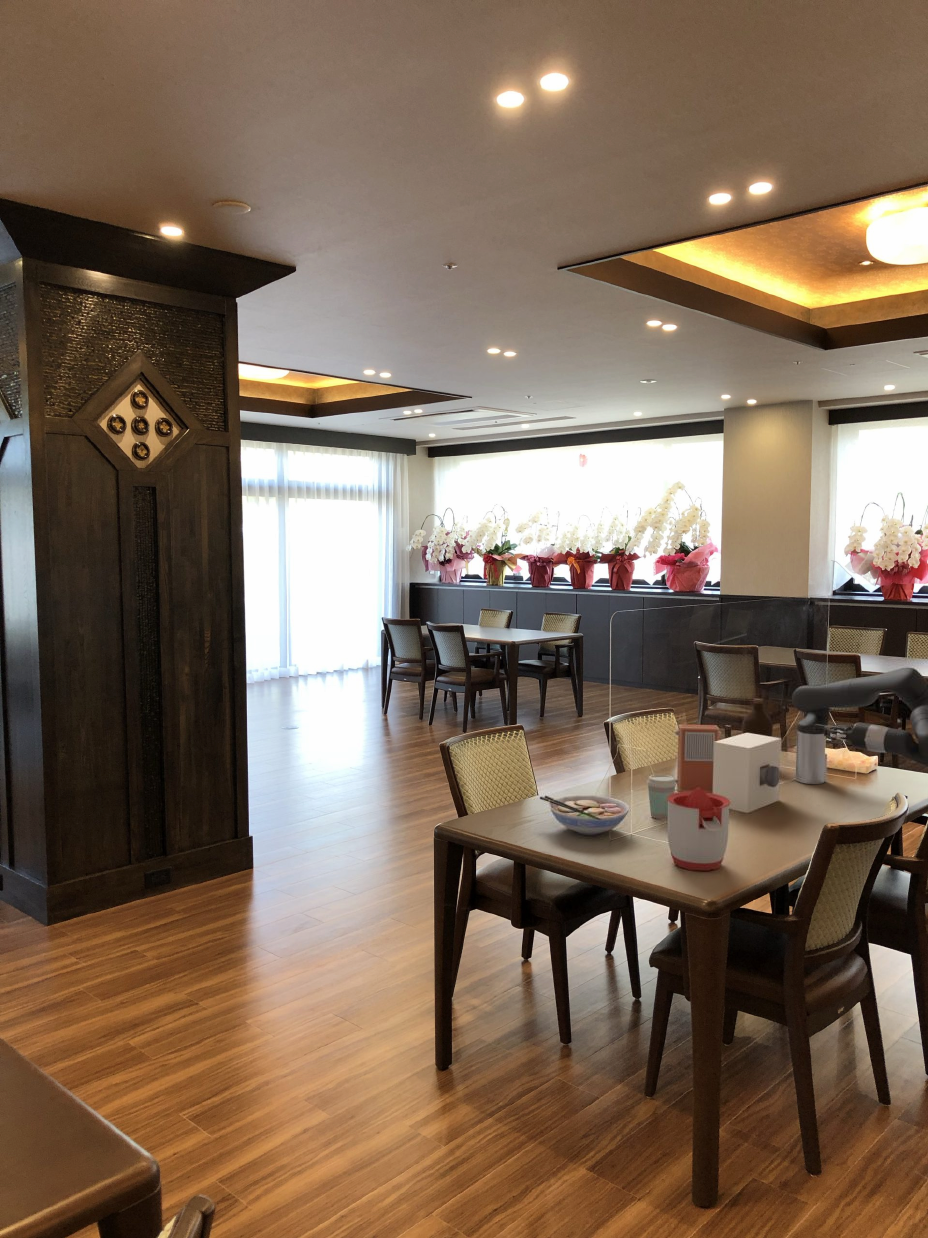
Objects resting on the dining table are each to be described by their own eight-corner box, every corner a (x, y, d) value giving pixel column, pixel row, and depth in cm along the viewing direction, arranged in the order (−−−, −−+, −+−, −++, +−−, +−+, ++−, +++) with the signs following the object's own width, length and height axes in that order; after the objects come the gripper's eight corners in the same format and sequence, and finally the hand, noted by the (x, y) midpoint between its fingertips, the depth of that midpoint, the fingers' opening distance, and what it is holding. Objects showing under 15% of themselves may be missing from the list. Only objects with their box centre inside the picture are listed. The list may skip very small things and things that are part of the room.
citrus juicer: (682, 879, 230) (684, 799, 228) (656, 855, 247) (658, 781, 245) (742, 875, 233) (744, 796, 231) (712, 852, 250) (714, 778, 248)
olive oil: (763, 772, 335) (766, 702, 333) (735, 767, 342) (738, 699, 340) (776, 766, 343) (778, 699, 341) (748, 762, 350) (751, 695, 348)
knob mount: (744, 792, 308) (746, 732, 306) (779, 800, 299) (781, 738, 297) (712, 804, 294) (714, 741, 292) (747, 813, 285) (749, 748, 284)
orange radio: (672, 786, 315) (718, 788, 314) (675, 792, 308) (722, 793, 307) (674, 723, 313) (720, 724, 312) (676, 728, 306) (723, 729, 305)
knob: (753, 779, 298) (753, 760, 297) (779, 785, 291) (780, 765, 291) (742, 783, 293) (743, 763, 293) (769, 789, 287) (770, 768, 286)
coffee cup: (678, 815, 283) (679, 776, 282) (670, 823, 275) (671, 782, 274) (651, 811, 287) (651, 772, 286) (642, 818, 279) (643, 779, 278)
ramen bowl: (649, 836, 263) (649, 807, 262) (585, 850, 251) (585, 820, 250) (591, 814, 284) (591, 787, 283) (530, 826, 272) (530, 798, 271)
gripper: (882, 721, 271) (824, 712, 283) (863, 728, 262) (803, 718, 274) (881, 747, 271) (823, 736, 284) (861, 754, 262) (802, 743, 275)
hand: (813, 727), depth 279 cm, fingers closed
